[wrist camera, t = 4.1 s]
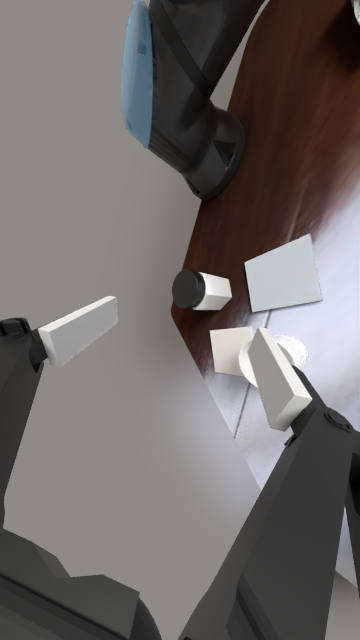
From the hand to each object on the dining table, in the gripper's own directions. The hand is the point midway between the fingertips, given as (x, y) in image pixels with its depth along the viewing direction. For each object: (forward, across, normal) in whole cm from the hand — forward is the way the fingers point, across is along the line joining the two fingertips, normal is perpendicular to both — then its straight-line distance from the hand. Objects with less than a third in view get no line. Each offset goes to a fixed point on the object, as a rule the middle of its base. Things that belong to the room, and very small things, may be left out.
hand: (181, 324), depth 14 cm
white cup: (+14, +19, -9) cm, 25 cm away
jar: (+28, +5, -4) cm, 29 cm away
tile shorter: (+20, +11, -15) cm, 27 cm away
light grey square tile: (+20, +15, +3) cm, 25 cm away
